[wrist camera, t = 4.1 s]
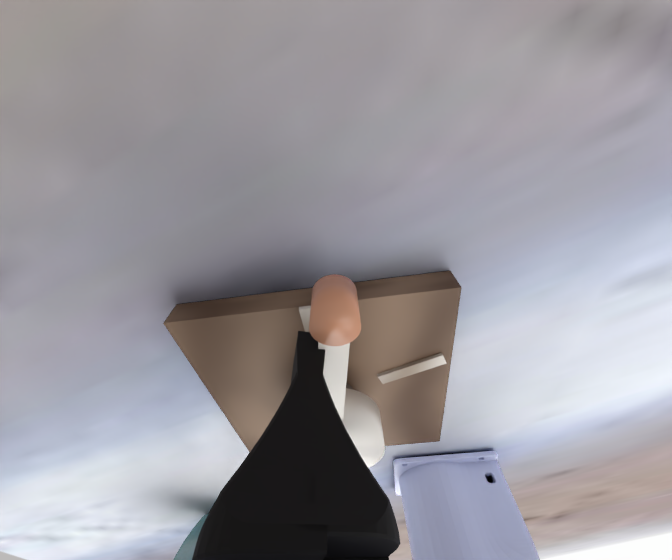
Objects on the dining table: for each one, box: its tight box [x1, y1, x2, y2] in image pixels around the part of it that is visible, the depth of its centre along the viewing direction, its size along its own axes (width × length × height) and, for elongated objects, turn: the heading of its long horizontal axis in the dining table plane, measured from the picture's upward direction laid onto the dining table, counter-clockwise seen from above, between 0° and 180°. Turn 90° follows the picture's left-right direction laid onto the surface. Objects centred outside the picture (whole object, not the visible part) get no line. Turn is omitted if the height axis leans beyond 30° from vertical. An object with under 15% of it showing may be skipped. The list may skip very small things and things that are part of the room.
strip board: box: [164, 271, 461, 452], centre depth 18 cm, size 15×15×3 cm
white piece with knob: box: [309, 274, 385, 468], centre depth 14 cm, size 13×6×2 cm, turn 178°
